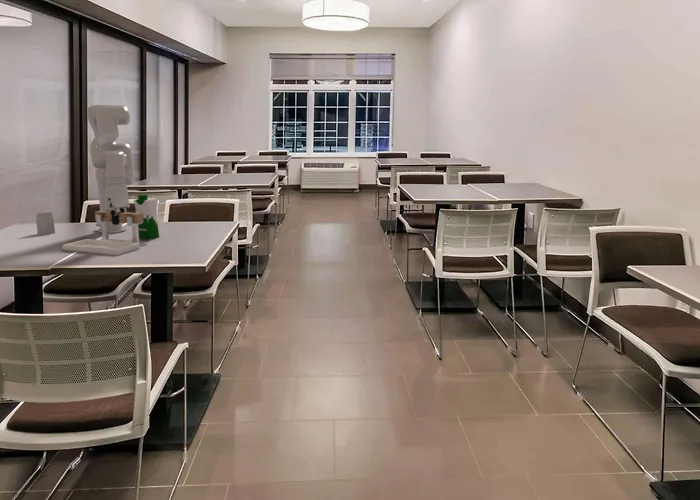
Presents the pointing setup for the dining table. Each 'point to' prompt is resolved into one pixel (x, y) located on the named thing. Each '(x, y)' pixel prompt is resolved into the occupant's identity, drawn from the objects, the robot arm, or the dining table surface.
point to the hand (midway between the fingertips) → (119, 223)
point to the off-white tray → (101, 246)
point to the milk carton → (147, 217)
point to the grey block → (45, 223)
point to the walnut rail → (121, 216)
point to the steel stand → (106, 238)
